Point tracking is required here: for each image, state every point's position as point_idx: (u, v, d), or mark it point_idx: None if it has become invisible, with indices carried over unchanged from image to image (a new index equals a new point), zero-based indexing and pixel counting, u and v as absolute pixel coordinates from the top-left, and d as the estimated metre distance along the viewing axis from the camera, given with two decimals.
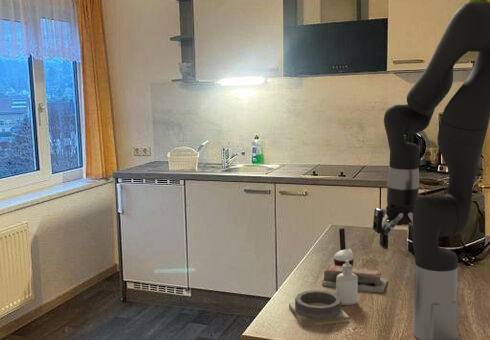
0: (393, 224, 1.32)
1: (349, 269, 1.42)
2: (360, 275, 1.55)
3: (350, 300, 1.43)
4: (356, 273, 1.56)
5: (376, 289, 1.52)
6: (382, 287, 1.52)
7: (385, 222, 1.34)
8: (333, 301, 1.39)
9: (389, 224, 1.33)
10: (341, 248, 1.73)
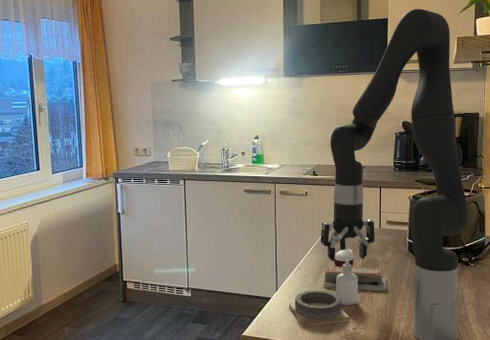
0: (339, 237, 1.40)
1: (349, 269, 1.42)
2: (363, 275, 1.55)
3: (350, 300, 1.43)
4: (358, 273, 1.56)
5: (379, 288, 1.52)
6: (385, 285, 1.53)
7: (332, 235, 1.42)
8: (333, 301, 1.39)
9: (335, 237, 1.40)
10: (341, 248, 1.73)
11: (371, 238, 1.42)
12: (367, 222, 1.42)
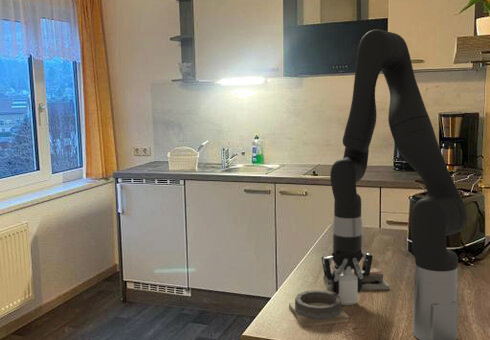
0: (340, 270, 1.41)
1: (349, 269, 1.42)
2: None
3: (350, 300, 1.43)
4: None
5: (382, 286, 1.54)
6: (386, 284, 1.55)
7: (334, 268, 1.43)
8: (333, 301, 1.39)
9: (337, 271, 1.41)
10: None
11: (367, 272, 1.43)
12: (366, 255, 1.43)
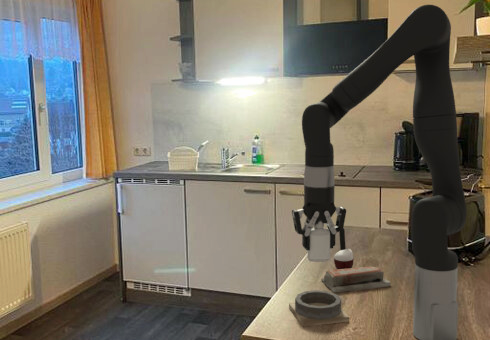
0: (311, 224, 1.32)
1: (321, 223, 1.33)
2: (367, 274, 1.56)
3: (322, 256, 1.34)
4: (362, 272, 1.56)
5: (385, 284, 1.56)
6: (387, 281, 1.57)
7: (305, 223, 1.35)
8: (333, 301, 1.39)
9: (308, 224, 1.33)
10: (341, 248, 1.73)
11: (340, 226, 1.34)
12: (339, 209, 1.34)
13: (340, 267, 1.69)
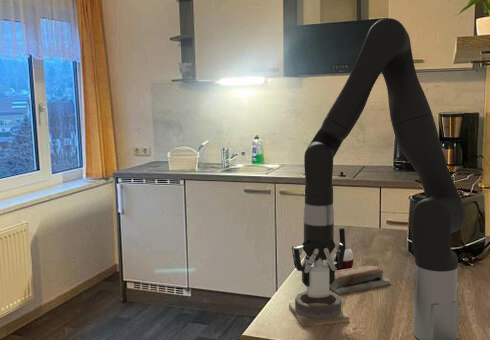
0: (311, 261, 1.34)
1: (320, 260, 1.35)
2: (368, 273, 1.56)
3: (321, 292, 1.36)
4: (363, 272, 1.56)
5: (385, 282, 1.57)
6: (386, 279, 1.59)
7: (305, 259, 1.36)
8: (333, 301, 1.39)
9: (307, 261, 1.34)
10: None
11: (339, 263, 1.36)
12: (339, 245, 1.36)
13: None
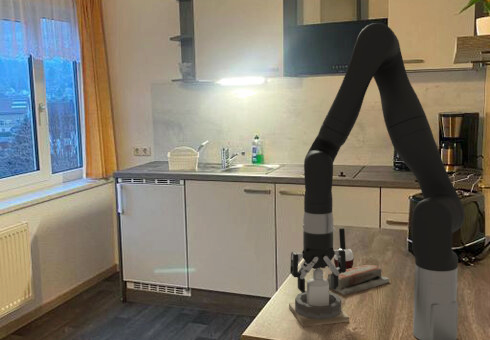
0: (309, 268, 1.33)
1: (320, 274, 1.35)
2: (368, 273, 1.57)
3: None
4: (364, 272, 1.57)
5: (385, 280, 1.58)
6: (385, 277, 1.60)
7: (302, 266, 1.36)
8: (333, 301, 1.39)
9: (305, 268, 1.34)
10: (341, 248, 1.73)
11: (342, 268, 1.36)
12: (338, 251, 1.36)
13: None
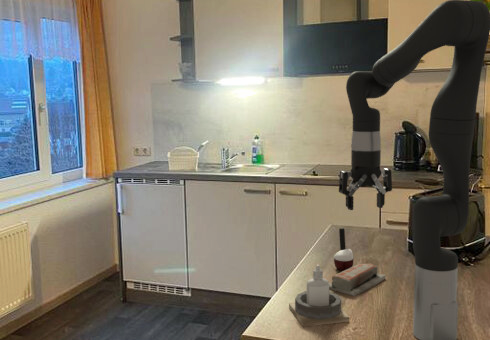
0: (357, 185, 1.39)
1: (320, 274, 1.35)
2: (369, 271, 1.58)
3: None
4: (365, 271, 1.57)
5: (382, 277, 1.61)
6: (380, 274, 1.63)
7: (350, 184, 1.41)
8: (333, 301, 1.39)
9: (354, 185, 1.40)
10: (341, 248, 1.73)
11: (389, 187, 1.42)
12: (384, 171, 1.42)
13: (340, 267, 1.69)
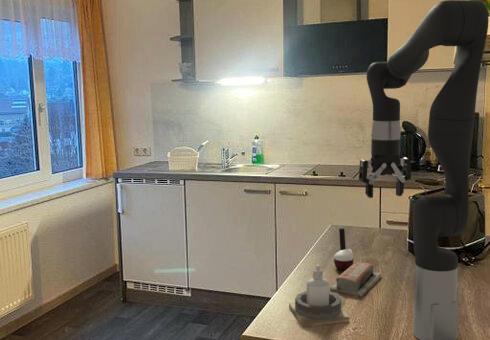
0: (377, 174, 1.42)
1: (320, 274, 1.35)
2: (368, 270, 1.59)
3: None
4: (365, 270, 1.58)
5: (379, 276, 1.62)
6: None
7: (370, 173, 1.45)
8: (333, 301, 1.39)
9: (373, 174, 1.43)
10: (341, 248, 1.73)
11: (408, 175, 1.45)
12: (404, 160, 1.45)
13: (340, 267, 1.69)
